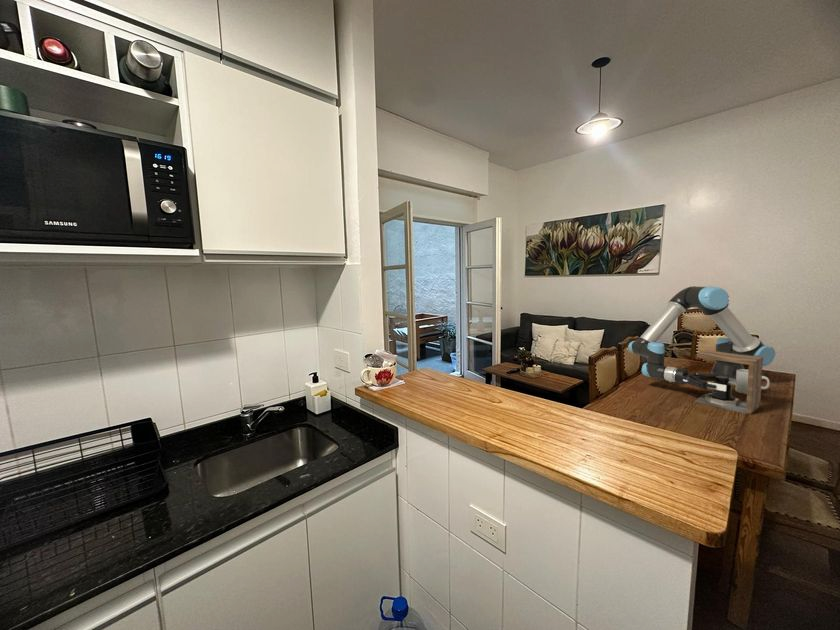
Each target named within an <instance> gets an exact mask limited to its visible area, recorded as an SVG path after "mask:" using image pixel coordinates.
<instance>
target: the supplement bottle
mask: <svg viewBox="0 0 840 630" xmlns="http://www.w3.org/2000/svg"><path fill="white" fill-rule="evenodd" d="M715 380H716V381H712V383H717V384H722V385H727V390H726V391H721V390H716V389H712V390H711V393H712V398H713V399H718V400H723V401H732V396H733V395H732V393H733V392H732V391H733V388H732V387H733V385H732V384H730V383H729V377H726V376H715Z"/></svg>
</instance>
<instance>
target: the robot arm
mask: <svg viewBox="0 0 840 630" xmlns="http://www.w3.org/2000/svg"><path fill="white" fill-rule="evenodd" d="M729 298H730V295H729V293H728V292H727V291H726V290H725V289H723V288H722V287H718V286H712V285H711V286H688V287H685V288H683V289H682V290H680V291H678V292H677V293H676V294H675V295H673V297H672V298H671V299H670V300H669V301H668V302H667V306H666V307H665V308H664V309H663V311H661V313H660V314H659V315H658V316H657V317H656V319H655V320H654V321H653V322H652V323H651V324H650V325H649V327H647V329H646V330H645V331H644V332H643V333H642V334H641V335H640V337H639V338H638V339H637V340H632V341H630V342H629V343H628V347H627V349H628V350H629V352H630V353H632V354H634V355H636V356H641V357H644V358H646V360H647V361H646V362H644V363H643V364H642V366H641V374H642V376H645V377H648V378H650V379H657V380H663V381H667V382H669V383H672V382H673V383H677V384H682V385H685V384H688V385H690V386H694V387H696V388H700V389H703V390H707V389H710V390H711V389H716V390H721V391H726V390H727V385H722V384H717V383H713V382H714V381H716V380H715V376H726V377H729V383H730V384H731V385H732V386H736V385H737V379H736V372H737V370H738V369H745V367H744V364H740V363H733V362H725V361H718V360H715V362H714V364H713V367H712V368H711V370H710V373H700V372H699V373H698V372H693V373H689V371H688V369H685V368H680V367H679V368H678V367H673V366H667V365H665V354H666V353H665V352H666V349H665V346H666V345H665V344H664V343H663V342H658V340H659V339H660V338H661V337H662V335H664V333H666V331H667V330H668V329H669V328H670V327H671V326H672V324H673V323H674V322H675V321H676V320H677V319H678V318H679V316H680V315H681V314H683V313H685V312H687V310H689V309H691V308H694V309H695V308H696V309H698V310H700V311H701V313H702V314H703V315H705V316H709V317H710V318H711V319H712V320H713V322H714V323H715V324H716V325H717V327H718V328H719V329H720V330H721V332H723V334H724V335H725V336H726V337H719V338H717V339H716V343H715V351H717V352H726V353H734V354H742V355H751V356H759V357H763V365H762V367H766V366H769V365H770V364H771V363H772V362H773V361H774V359H775V356H776V350H775V348H774V347H773V346H771V345H769V344H764V343H763V342H762V341H761V340H760V338H758V337H757V336H752V334H751V333H750V332H749V331H748V329H746V327H745V326H744V325H743V323H742V322H741V321H740V320H739V319H738V318H737V316H736V315H735V314H734V313H733V312H732V311H731V309H730V308H729V305H730V303H729V302H730V299H729Z"/></svg>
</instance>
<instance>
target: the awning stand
mask: <svg viewBox="0 0 840 630" xmlns="http://www.w3.org/2000/svg"><path fill="white" fill-rule="evenodd" d="M696 358H697V359H698V358H699V359H704V360H711V361H716V360H718V361H725V362H733V363H740V364H743V365H748V369H747V370H748V388H747V394H746V401H741V400H740V399H739V398H737V397H735V396H734V395H732V401H723V400H718V399H713V398H712V392H710V393H709V392H708V393H705V394H703V395H701V396H700V397H698V398H696V399H695V400H694V402H695V403H697V404H698V403H699V404H702V405H703V404H704V405H708V406H712V407H717V408H721V409H725V410H728V411H732V412H737V413H741V414H746V415H753V414H754V413H755V412H756V411H758V410H759V409H760V408H761V397H762V396H761V395H762V389H761V386H762V382H763V381H762V380H763V379H762V376H763V366H762V365H763V357H759V356H751V355H742V354H734V353H726V352H717V351H716V350H708V349H707V350H705V351H702V352H700V353H697V354H696ZM753 412H754V413H753Z"/></svg>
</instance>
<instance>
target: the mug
mask: <svg viewBox="0 0 840 630" xmlns="http://www.w3.org/2000/svg"><path fill="white" fill-rule="evenodd" d="M748 370H749V369H745V368H744V369H738V370H737V372H736V379H737V385H735V392H737V393H739V394H742V393H743V394H744V395H747V388H748ZM762 380H764V381H765V380H766V385H765V386H763V385H761V391H762V390H768V389H769V387H770V384H771V382H770V379H769V378H768V377H767V376H765V375H762ZM743 394H742V395H743Z"/></svg>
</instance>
